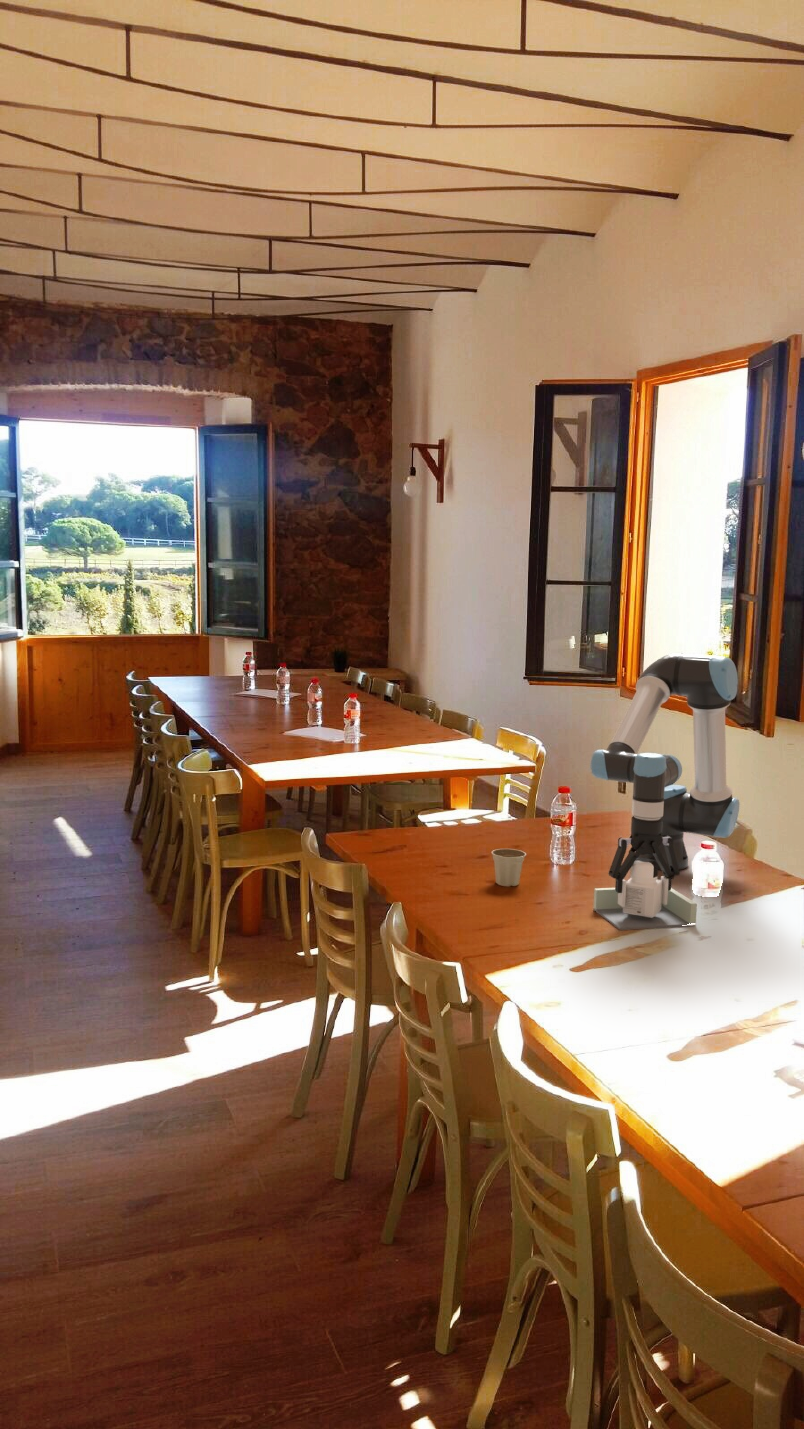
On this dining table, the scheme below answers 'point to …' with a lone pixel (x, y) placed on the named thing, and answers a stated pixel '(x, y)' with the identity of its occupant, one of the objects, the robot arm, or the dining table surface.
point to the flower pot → (508, 866)
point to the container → (643, 889)
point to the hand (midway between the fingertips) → (642, 904)
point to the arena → (670, 915)
